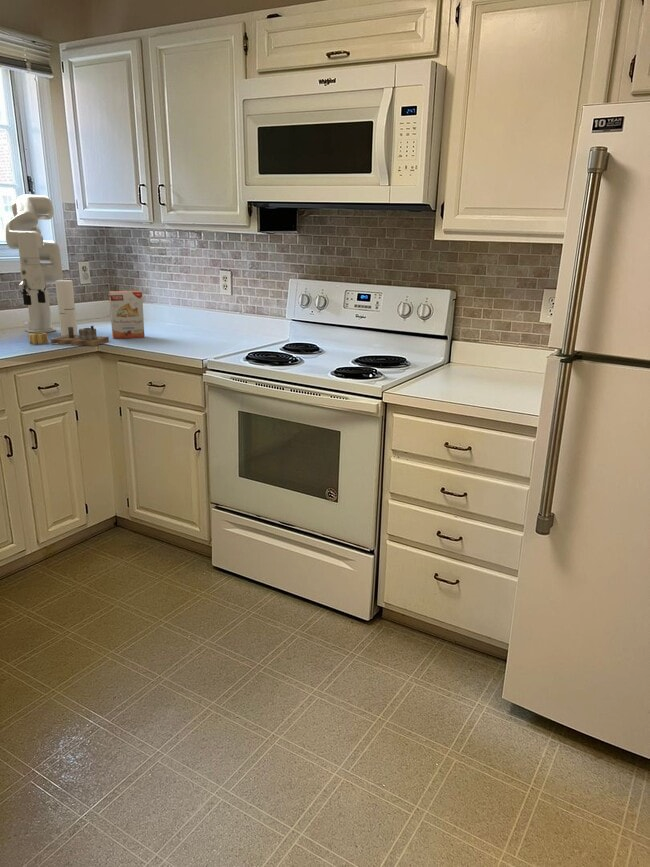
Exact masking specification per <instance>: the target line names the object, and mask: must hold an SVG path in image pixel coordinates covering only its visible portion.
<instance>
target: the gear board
mask: <svg viewBox="0 0 650 867" xmlns="http://www.w3.org/2000/svg"><path fill="white" fill-rule="evenodd" d="M68 332H69V335H65V336H61V335H60V336H58V337H53V338H50V344H51V343H58V344H57V345H64V344H71V345H70V346H84V347H85V346H86V347H95V346H98V345H101V344H105V343H108V342H110V338H109V336H100V335H99V336H97V328H95V327H94V325H90V327H84V328H79V329H78V335H74V332H73V327H68Z"/></svg>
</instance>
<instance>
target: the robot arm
mask: <svg viewBox="0 0 650 867" xmlns="http://www.w3.org/2000/svg"><path fill="white" fill-rule="evenodd" d="M11 209H12V210H11V211H12V215H13V217H12V218H11V219H10V220H9V221H8V222H7V223H6V226H5V241H6V244H7V246H8V247H9V249H12V250H13V249H14V250H18V255H19V262H20V283H19V284H18V285H17V286H18V288H19V291H20V293H21V296H22V299H23V305H24V306H27V309H28V318H29V321H25V322H24V323H23V326H24V327H28V328H27V329H26V330H27V332H28V333H42V332H43V333H51V332H55V331H57V330H56V329H57V328H56V327H54V326H53V323H52V315H51V306H50V296H49V292H48V290H47V289H46V288H47V285H56V283H55V281H57V280H64V279H63V278H64V277H63V275H64V274H63V267H62V266H63V265H62V256H61V250H60V247H59V246H60V245H59V244H58V243H57V242H56V241H55V240H44V237H43V235H42V231H41V229H40V227H39V226H38V223H39V220H48V221H49V220H51V219H52V218H53V217H54V206H53V204H52V201H51V199H50V198H49V197H48V196H46V195H42V194H41V195H38V194H22V195H20V196H18V197H17V199H16V200H14V201H12V203H11ZM42 262H44V263H42ZM47 262H48V263H47Z"/></svg>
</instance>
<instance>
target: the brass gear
mask: <svg viewBox="0 0 650 867" xmlns="http://www.w3.org/2000/svg"><path fill="white" fill-rule="evenodd" d="M28 337H29V338H28V339H29V344H30V343H33V344H32V345H42V344H41V343H44V344H45V343H46V344H48V343H49V340H48V332H42V333H34V332H29V334H28ZM47 342H48V343H47ZM37 343H38V344H37Z"/></svg>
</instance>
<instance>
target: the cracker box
mask: <svg viewBox="0 0 650 867" xmlns="http://www.w3.org/2000/svg"><path fill="white" fill-rule="evenodd" d="M108 296H109V308H110V321H111V322H110V323H111V333H112V334H111V335H112V338H113V339H114V340H115V339H137V338H140V339H141V338H145V322H144V307H143V305H144V303H143V302H144V301H143V292H142V291H141V290H113V291H112V290H110V291H109V294H108Z"/></svg>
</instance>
